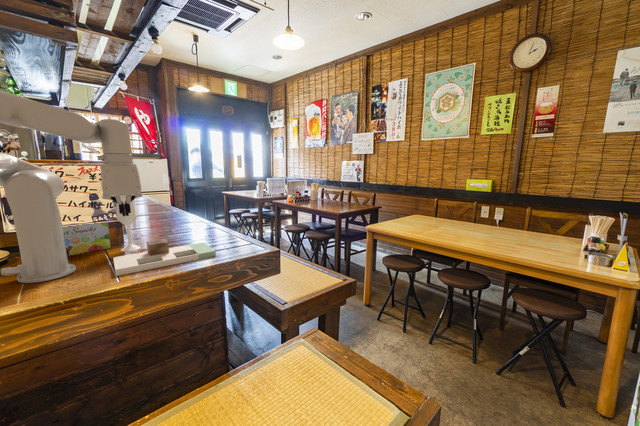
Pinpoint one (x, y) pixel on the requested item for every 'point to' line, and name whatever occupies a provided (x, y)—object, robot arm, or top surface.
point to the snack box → (86, 238)
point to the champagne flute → (127, 223)
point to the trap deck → (161, 258)
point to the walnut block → (157, 247)
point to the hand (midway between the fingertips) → (125, 215)
